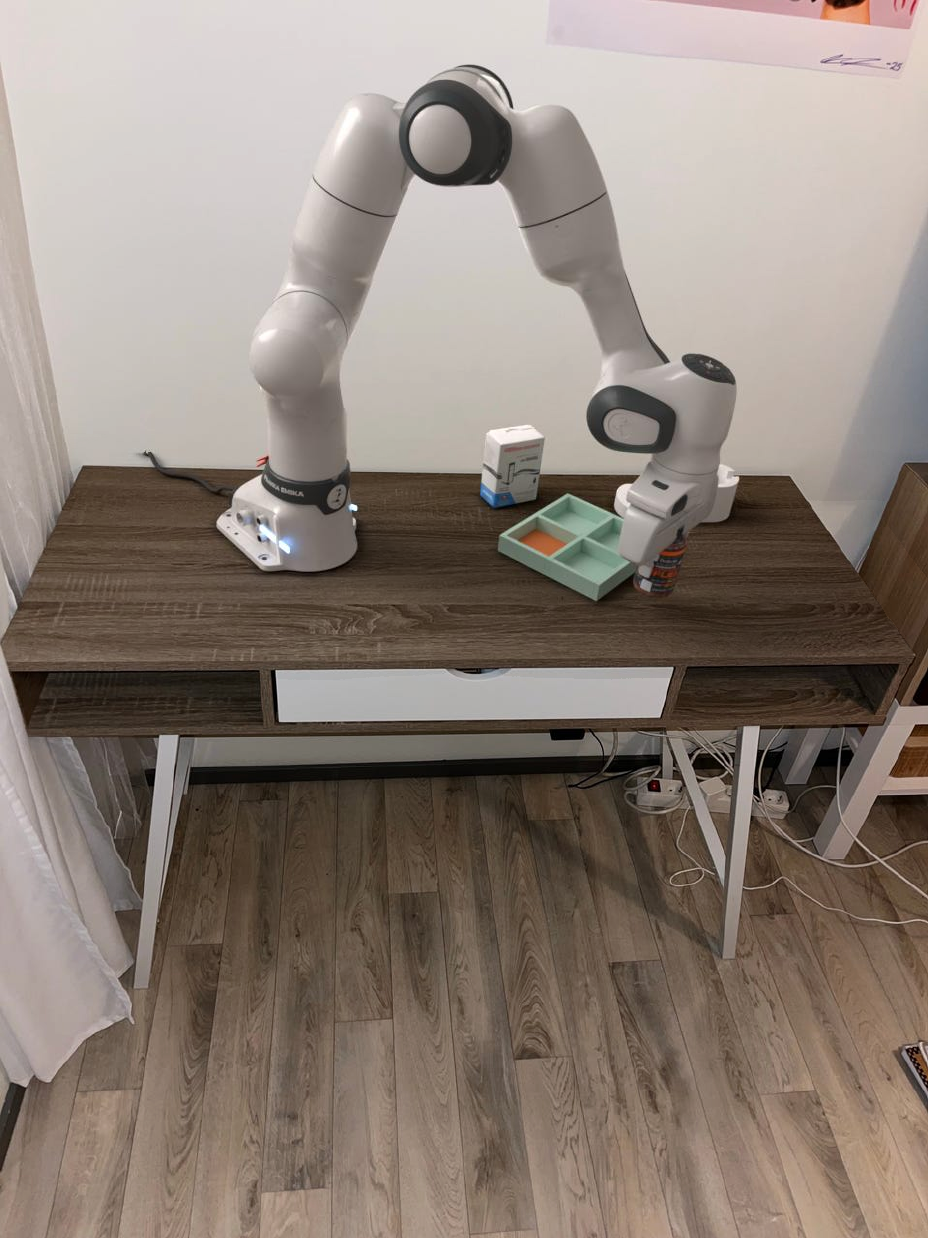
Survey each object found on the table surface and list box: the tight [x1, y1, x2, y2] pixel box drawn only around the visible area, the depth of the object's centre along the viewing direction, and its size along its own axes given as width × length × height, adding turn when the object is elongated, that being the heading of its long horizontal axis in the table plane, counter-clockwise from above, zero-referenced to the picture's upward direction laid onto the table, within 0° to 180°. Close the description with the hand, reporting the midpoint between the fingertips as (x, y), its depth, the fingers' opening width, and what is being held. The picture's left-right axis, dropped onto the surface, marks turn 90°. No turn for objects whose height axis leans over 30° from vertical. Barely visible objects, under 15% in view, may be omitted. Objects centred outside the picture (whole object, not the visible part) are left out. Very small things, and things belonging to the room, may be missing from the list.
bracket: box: [613, 463, 740, 523], centre depth 168 cm, size 20×9×7 cm, turn 98°
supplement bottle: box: [632, 524, 688, 599], centre depth 141 cm, size 6×6×11 cm
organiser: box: [497, 493, 637, 602], centre depth 156 cm, size 18×18×3 cm
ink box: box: [479, 424, 546, 509], centre depth 166 cm, size 9×5×12 cm, turn 118°
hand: (658, 563), depth 142 cm, fingers closed on supplement bottle, 6 cm apart
